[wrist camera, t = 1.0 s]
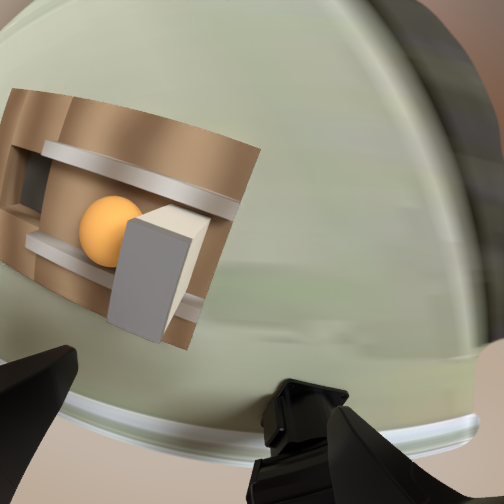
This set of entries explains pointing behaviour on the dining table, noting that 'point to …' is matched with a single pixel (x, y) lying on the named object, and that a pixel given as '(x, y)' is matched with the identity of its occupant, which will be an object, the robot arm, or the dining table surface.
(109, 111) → the board
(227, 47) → the dining table surface
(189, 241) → the plunger
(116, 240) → the ball
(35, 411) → the robot arm
